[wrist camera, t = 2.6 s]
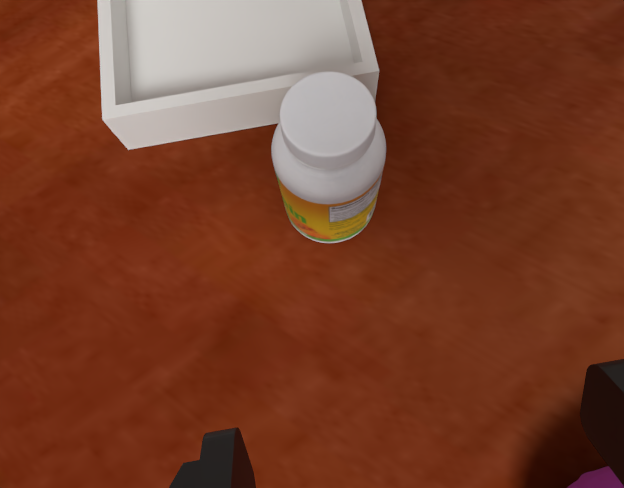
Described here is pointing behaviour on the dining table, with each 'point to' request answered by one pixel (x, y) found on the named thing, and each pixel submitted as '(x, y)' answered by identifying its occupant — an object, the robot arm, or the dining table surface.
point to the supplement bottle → (329, 156)
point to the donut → (598, 479)
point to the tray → (219, 62)
